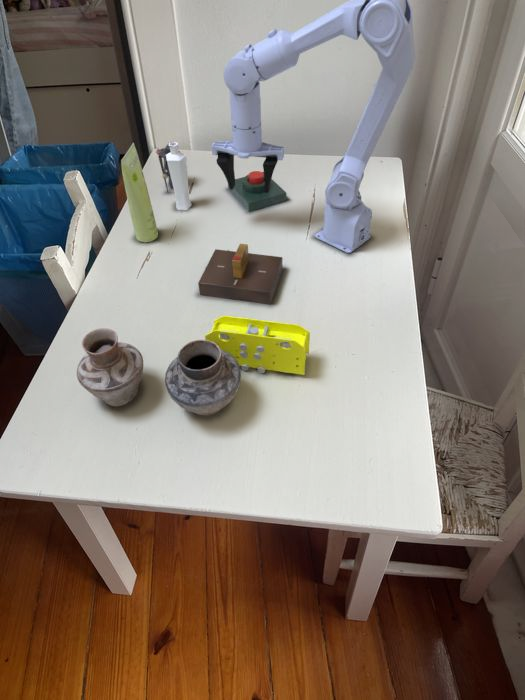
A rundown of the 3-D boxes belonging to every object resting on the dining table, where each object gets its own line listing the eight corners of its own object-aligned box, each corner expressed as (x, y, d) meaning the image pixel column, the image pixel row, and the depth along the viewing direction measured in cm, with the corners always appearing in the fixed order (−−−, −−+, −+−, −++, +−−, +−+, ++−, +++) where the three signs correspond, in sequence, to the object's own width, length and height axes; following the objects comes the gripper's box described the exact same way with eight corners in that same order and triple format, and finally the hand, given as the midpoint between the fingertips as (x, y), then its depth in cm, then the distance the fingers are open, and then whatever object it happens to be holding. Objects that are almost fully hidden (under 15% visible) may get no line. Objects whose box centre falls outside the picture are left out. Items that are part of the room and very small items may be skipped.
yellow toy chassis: (208, 366, 81) (202, 331, 75) (217, 342, 85) (213, 306, 78) (303, 380, 78) (305, 344, 72) (308, 354, 82) (311, 318, 76)
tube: (163, 239, 107) (145, 152, 92) (142, 247, 105) (120, 160, 91) (152, 227, 110) (133, 142, 96) (132, 235, 108) (109, 149, 94)
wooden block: (241, 260, 96) (239, 242, 92) (248, 261, 95) (247, 243, 92) (233, 277, 92) (231, 259, 89) (241, 278, 92) (240, 260, 89)
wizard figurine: (165, 180, 125) (156, 133, 116) (187, 179, 125) (180, 132, 116) (162, 197, 119) (153, 149, 110) (185, 196, 119) (177, 148, 110)
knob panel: (282, 269, 98) (282, 256, 96) (270, 304, 91) (270, 291, 89) (216, 261, 101) (215, 248, 98) (200, 294, 94) (197, 282, 91)
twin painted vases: (102, 364, 82) (81, 312, 73) (248, 376, 79) (244, 323, 70) (76, 418, 74) (49, 368, 66) (236, 434, 72) (230, 383, 63)
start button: (266, 182, 115) (266, 175, 114) (252, 186, 114) (252, 179, 113) (259, 176, 118) (259, 169, 116) (246, 180, 116) (245, 173, 115)
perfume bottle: (194, 201, 117) (185, 139, 106) (191, 210, 114) (181, 148, 103) (176, 200, 118) (165, 139, 107) (172, 210, 115) (160, 147, 104)
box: (286, 200, 116) (286, 185, 113) (248, 211, 113) (248, 196, 110) (264, 179, 124) (263, 164, 121) (228, 189, 121) (226, 174, 118)
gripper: (204, 129, 92) (211, 195, 102) (279, 135, 89) (279, 201, 99) (214, 115, 96) (221, 179, 106) (286, 119, 94) (285, 184, 104)
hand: (249, 188), depth 103 cm, fingers open, 7 cm apart
